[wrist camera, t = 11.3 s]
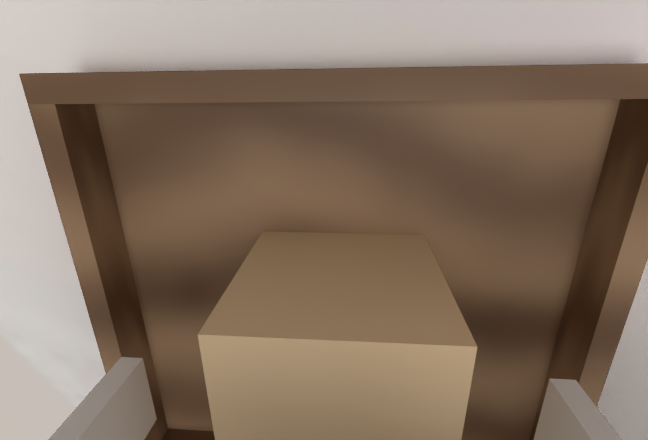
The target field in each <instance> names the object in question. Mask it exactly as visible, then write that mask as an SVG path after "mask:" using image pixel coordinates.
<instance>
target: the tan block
mask: <svg viewBox="0 0 648 440" xmlns="http://www.w3.org/2000/svg"><path fill="white" fill-rule="evenodd" d="M198 340H199V346H200V352H201V358H202V364H203V370H204V377H205V383H206V389H207V395H208V401H209V407H210V413H211V419H212V425H213V431H214V437H215V440H461V439H462V433H463V427H464V422H465V416H466V410H467V404H468V399H469V393H470V387H471V381H472V376H473V370H474V364H475V358H476V353H477V345H476V343H475V340H474V338H473V336H472V334H471V332H470V330H469V328H468V326H467V324H466V322H465V320H464V318H463V315H462V313H461V311H460V309H459V307H458V305H457V303H456V301H455V299H454V297H453V295H452V293H451V290H450V288H449V286H448V284H447V282H446V280H445V278H444V276H443V274H442V272H441V270H440V268H439V266H438V263H437V261H436V259H435V257H434V255H433V253H432V251H431V249H430V247H429V245H428V243H427V241H426V238H425V236H424V235H413V234H363V233H313V232H262V234H261V235H260V237H259V238H258V240H257V241H256V243H255V245H254V246H253V248H252V249H251V251H250V253H249V254H248V256H247V257H246V259H245V260H244V262H243V264H242V265H241V267H240V268H239V270H238V271H237V273H236V275H235V276H234V278H233V279H232V281H231V283H230V284H229V286H228V287H227V289H226V290H225V292H224V294H223V295H222V297H221V298H220V300H219V302H218V303H217V305H216V306H215V308H214V309H213V311H212V313H211V314H210V316H209V317H208V319H207V321H206V322H205V324H204V325H203V327H202V328H201V330H200V332H199V333H198Z"/></svg>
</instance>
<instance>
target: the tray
mask: <svg viewBox="0 0 648 440" xmlns="http://www.w3.org/2000/svg"><path fill="white" fill-rule="evenodd" d="M19 75H20V78H21V82H22V85H23V89H24V92H25V96H26V99H27V103H28V106H29V109H30V113H31V116H32V120H33V123H34V127H35V130H36V134H37V137H38V141H39V144H40V147H41V151H42V154H43V158H44V161H45V165H46V168H47V172H48V175H49V179H50V182H51V185H52V189H53V192H54V196H55V199H56V203H57V206H58V210H59V213H60V217H61V220H62V223H63V227H64V230H65V234H66V237H67V241H68V244H69V248H70V251H71V255H72V258H73V261H74V265H75V268H76V272H77V275H78V279H79V282H80V286H81V289H82V292H83V296H84V299H85V303H86V306H87V310H88V313H89V317H90V320H91V324H92V327H93V330H94V334H95V337H96V341H97V344H98V348H99V351H100V355H101V358H102V362H103V365H104V368H105V372H106V374H107V373H108V371H109V370H110V369H111V368H112V367H113V366H114V365H115V363H116V362H117V361H118V360H119V359H120V358H121V357H131V358H143V361H144V366H145V370H146V375H147V379H148V383H149V388H150V392H151V396H152V401H153V405H154V409H155V414H156V418H157V420H156V421H155V423H154V425H153V426H152V428H151V430H150V431H149V433H148V435H147V436H146V438H145V439H144V440H215V437H214V431H213V425H212V419H211V413H210V407H209V401H208V395H207V389H206V383H205V377H204V370H203V364H202V358H201V352H200V346H199V340H198V333H199V332H200V330H201V328H202V327H203V325H204V324H205V322H206V321H207V319H208V317H209V316H210V314H211V313H212V311H213V309H214V308H215V306H216V305H217V303H218V302H219V300H220V298H221V297H222V295H223V294H224V292H225V290H226V289H227V287H228V286H229V284H230V283H231V281H232V279H233V278H234V276H235V275H236V273H237V271H238V270H239V268H240V267H241V265H242V264H243V262H244V260H245V259H246V257H247V256H248V254H249V253H250V251H251V249H252V248H253V246H254V245H255V243H256V241H257V240H258V238H259V237H260V235H261V234H262V232H313V233H363V234H413V235H424V236H425V238H426V241H427V243H428V245H429V247H430V249H431V251H432V253H433V255H434V257H435V259H436V261H437V263H438V266H439V268H440V270H441V272H442V274H443V276H444V278H445V280H446V282H447V284H448V286H449V288H450V290H451V293H452V295H453V297H454V299H455V301H456V303H457V305H458V307H459V309H460V311H461V313H462V315H463V318H464V320H465V322H466V324H467V326H468V328H469V330H470V332H471V334H472V336H473V338H474V340H475V343H476V345H477V353H476V358H475V364H474V370H473V376H472V381H471V387H470V393H469V399H468V404H467V410H466V416H465V422H464V427H463V433H462V439H461V440H533V439H534V436H535V432H536V428H537V424H538V421H539V417H540V413H541V409H542V405H543V402H544V398H545V394H546V390H547V386H548V383H549V379H570V380H576V381H577V382H578V383H579V385H580V386H581V387H582V389H583V390H584V391H585V392H586V394H587V395H588V396H589V398H590V399H591V400H592V402H593V403H594V404H595V405H596V407H597V404H598V401H599V398H600V395H601V392H602V389H603V386H604V383H605V381H606V378H607V375H608V372H609V369H610V366H611V363H612V360H613V357H614V354H615V352H616V349H617V346H618V343H619V340H620V337H621V334H622V331H623V328H624V325H625V322H626V320H627V317H628V314H629V311H630V308H631V305H632V302H633V299H634V296H635V293H636V291H637V288H638V285H639V282H640V279H641V276H642V273H643V270H644V267H645V264H646V262H647V259H648V63H647V64H585V65H523V66H462V67H400V68H338V69H276V70H215V71H153V72H91V73H29V74H19Z"/></svg>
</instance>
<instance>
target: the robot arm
mask: <svg viewBox="0 0 648 440" xmlns="http://www.w3.org/2000/svg"><path fill="white" fill-rule="evenodd" d="M156 420H157V418H156V414H155V409H154V405H153V401H152V396H151V392H150V388H149V383H148V379H147V375H146V370H145V366H144V361H143V358H131V357H121V358H120V359H119V360H118V361H117V362H116V363H115V365H114V366H113V367H112V368H111V369H110V370H109V371H108V373H107V374H106V375H105V376H104V377H103V378H102V379H101V380H100V382H99V383H98V384H97V385H96V386H95V387H94V388H93V390H92V391H91V392H90V393H89V394H88V395H87V396H86V398H85V399H84V400H83V401H82V402H81V403H80V404H79V406H78V407H77V408H76V409H75V410H74V411H73V412H72V414H71V415H70V416H69V417H68V418H67V419H66V420H65V421H64V423H63V424H62V425H61V426H60V427H59V429H57V431H56V432H55V433H54V434H53V435H52V436H51V437H50V439H49V440H144V439H145V438H146V436H147V435H148V433H149V431H150V430H151V428H152V426H153V425H154V423H155V421H156ZM533 440H622V439H621V438H620V437H619V435H618V434H617V433H616V431H615V430H614V429H613V427H612V426H611V425H610V424H609V422H608V421H607V420H606V418H605V417H604V416H603V415H602V413H601V412H600V411H599V409H598V408H597V407H596V405H595V404H594V403H593V402H592V400H591V399H590V398H589V396H588V395H587V394H586V392H585V391H584V390H583V389H582V387H581V386H580V385H579V383H578V382H577V381H576V380H570V379H549V383H548V386H547V390H546V394H545V398H544V402H543V405H542V409H541V413H540V417H539V421H538V424H537V428H536V432H535V436H534V439H533Z"/></svg>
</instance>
